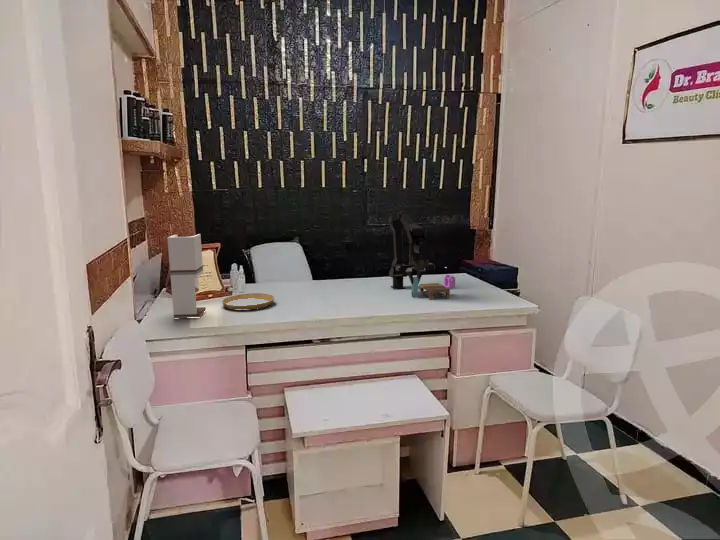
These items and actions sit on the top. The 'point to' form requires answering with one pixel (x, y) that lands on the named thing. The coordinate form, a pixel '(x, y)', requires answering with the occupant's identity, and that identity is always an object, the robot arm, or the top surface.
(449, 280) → the bracket
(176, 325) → the top surface
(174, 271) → the grey segmented column
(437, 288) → the stand
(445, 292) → the disc
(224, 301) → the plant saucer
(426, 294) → the teal angled piece
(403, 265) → the robot arm
